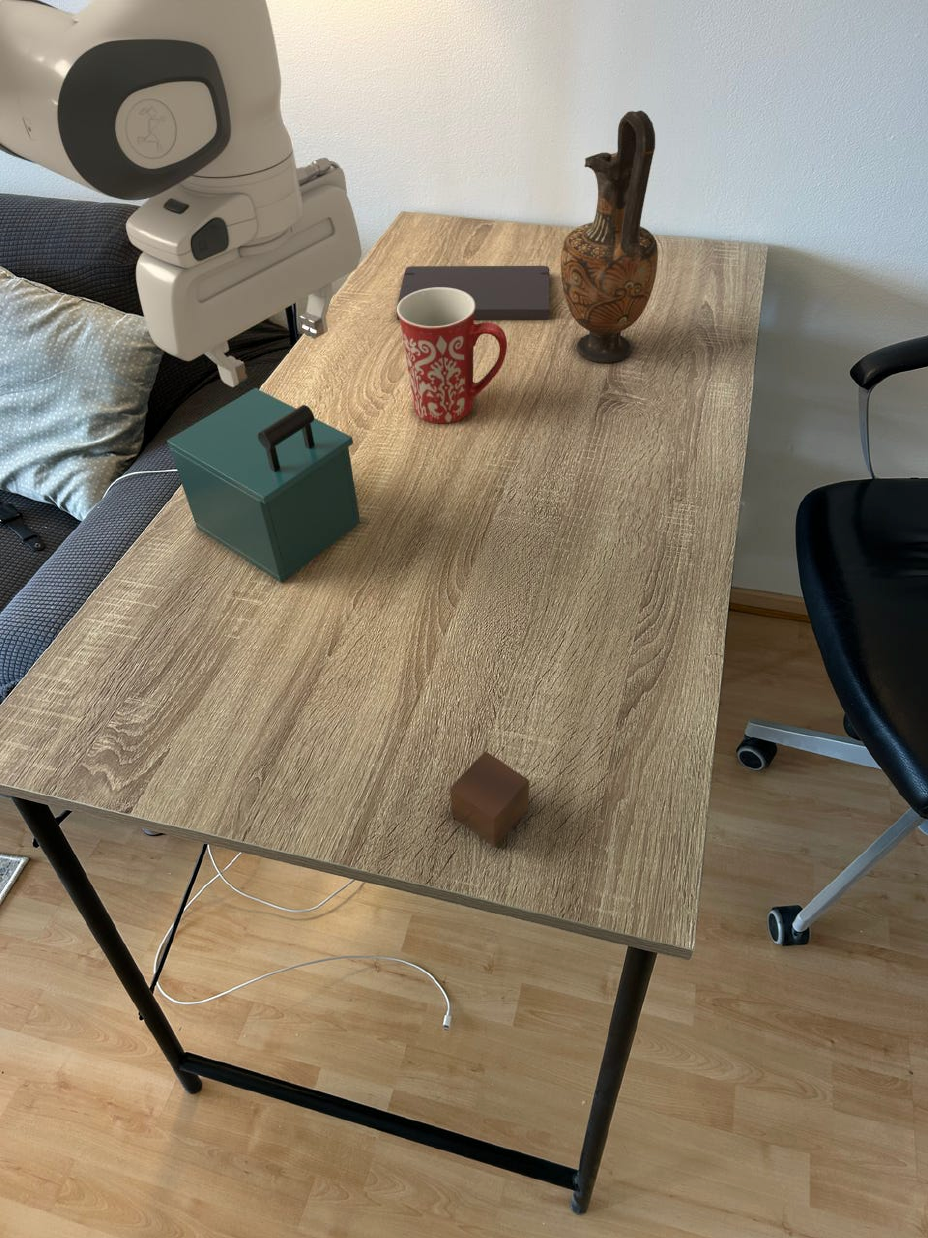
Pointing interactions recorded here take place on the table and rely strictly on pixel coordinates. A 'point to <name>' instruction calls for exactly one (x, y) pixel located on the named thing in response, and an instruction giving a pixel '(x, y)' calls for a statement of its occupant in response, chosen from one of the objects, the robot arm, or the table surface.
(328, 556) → the table surface
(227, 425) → the lid
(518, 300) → the notebook
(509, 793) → the block
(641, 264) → the vase
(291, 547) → the teal open-top bin
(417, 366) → the mug
